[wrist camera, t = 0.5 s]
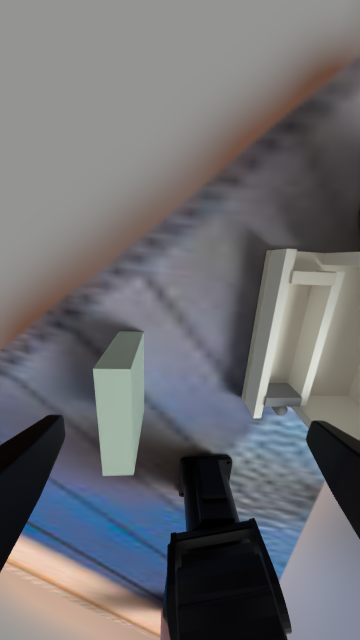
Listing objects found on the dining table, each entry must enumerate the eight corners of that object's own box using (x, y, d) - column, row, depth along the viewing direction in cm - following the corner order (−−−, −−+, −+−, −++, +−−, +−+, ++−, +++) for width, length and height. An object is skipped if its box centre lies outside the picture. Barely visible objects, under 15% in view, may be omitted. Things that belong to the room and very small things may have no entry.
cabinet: (347, 398, 23) (417, 451, 17) (241, 397, 22) (271, 454, 16) (398, 258, 18) (522, 256, 12) (266, 250, 18) (324, 244, 11)
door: (144, 410, 22) (133, 475, 15) (122, 410, 22) (102, 475, 15) (143, 331, 19) (130, 369, 13) (119, 330, 19) (92, 368, 12)
